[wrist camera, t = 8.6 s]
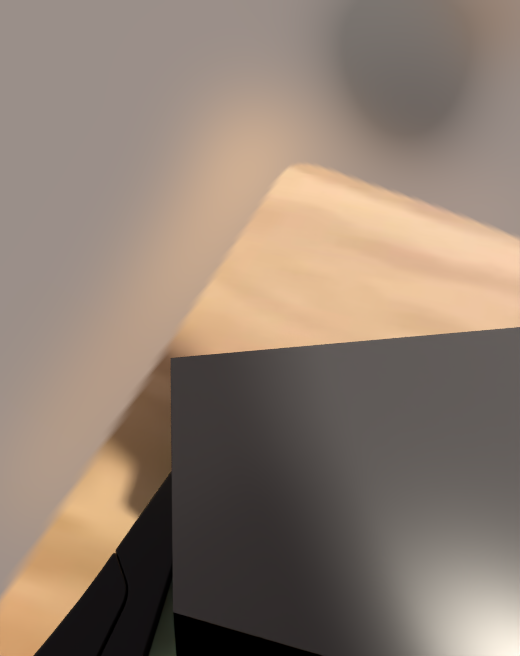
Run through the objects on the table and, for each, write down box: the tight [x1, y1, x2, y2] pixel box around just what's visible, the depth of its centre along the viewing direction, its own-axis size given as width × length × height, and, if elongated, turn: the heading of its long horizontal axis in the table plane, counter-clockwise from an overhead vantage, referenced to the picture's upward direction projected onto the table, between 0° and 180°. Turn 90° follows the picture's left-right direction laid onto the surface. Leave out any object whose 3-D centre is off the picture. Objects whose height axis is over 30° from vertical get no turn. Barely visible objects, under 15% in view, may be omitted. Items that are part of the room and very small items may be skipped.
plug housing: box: [171, 327, 520, 656], centre depth 8 cm, size 5×5×13 cm
